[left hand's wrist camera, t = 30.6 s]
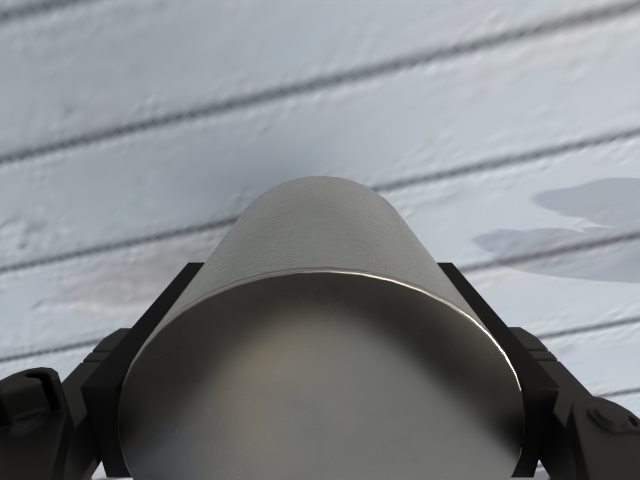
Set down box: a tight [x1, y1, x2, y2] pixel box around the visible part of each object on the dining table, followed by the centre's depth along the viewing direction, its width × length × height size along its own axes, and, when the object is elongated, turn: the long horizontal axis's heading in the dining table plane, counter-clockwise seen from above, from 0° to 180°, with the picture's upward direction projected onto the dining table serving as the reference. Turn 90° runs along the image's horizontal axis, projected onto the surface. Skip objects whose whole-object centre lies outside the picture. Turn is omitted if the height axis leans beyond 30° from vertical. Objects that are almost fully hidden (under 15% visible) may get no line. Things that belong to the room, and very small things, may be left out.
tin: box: [117, 176, 525, 480], centre depth 12 cm, size 9×9×9 cm
